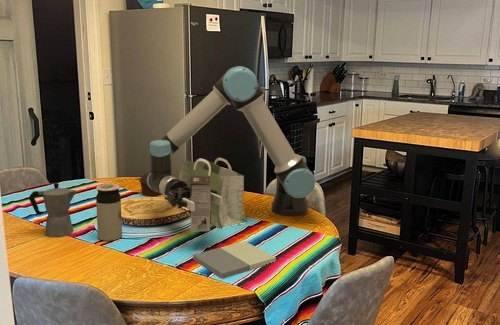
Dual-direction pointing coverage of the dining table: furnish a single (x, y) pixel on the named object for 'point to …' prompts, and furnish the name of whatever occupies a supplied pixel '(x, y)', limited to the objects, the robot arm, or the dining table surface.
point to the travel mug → (109, 212)
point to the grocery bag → (219, 190)
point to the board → (233, 259)
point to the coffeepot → (55, 210)
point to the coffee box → (200, 203)
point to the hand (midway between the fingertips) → (207, 204)
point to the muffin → (147, 187)
